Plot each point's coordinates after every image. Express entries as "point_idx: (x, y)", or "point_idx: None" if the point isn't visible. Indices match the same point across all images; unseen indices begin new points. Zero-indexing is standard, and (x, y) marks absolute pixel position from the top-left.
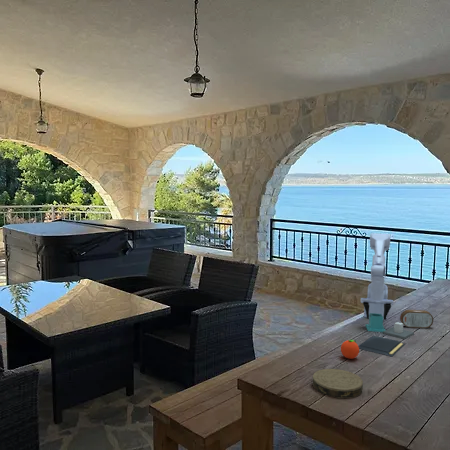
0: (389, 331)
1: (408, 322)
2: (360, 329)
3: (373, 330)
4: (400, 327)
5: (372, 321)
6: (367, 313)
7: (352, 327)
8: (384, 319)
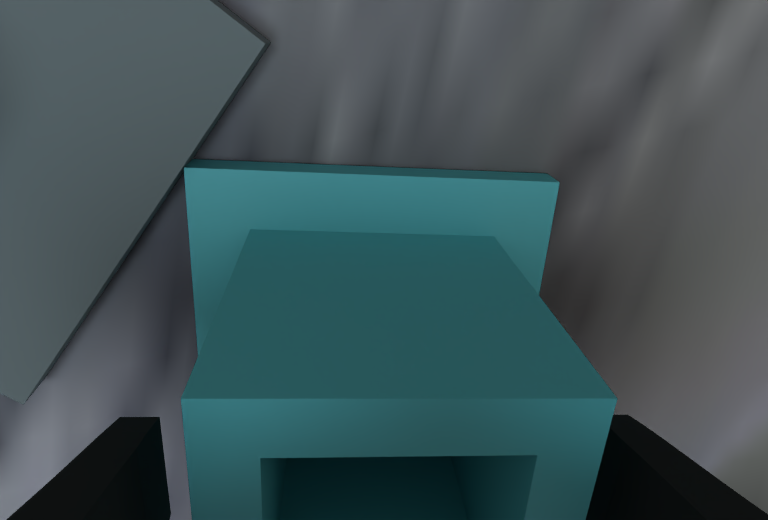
0: (105, 83)
1: None
2: (657, 239)
3: (444, 173)
4: None
5: (503, 307)
6: (746, 510)
7: (756, 320)
8: (151, 420)
